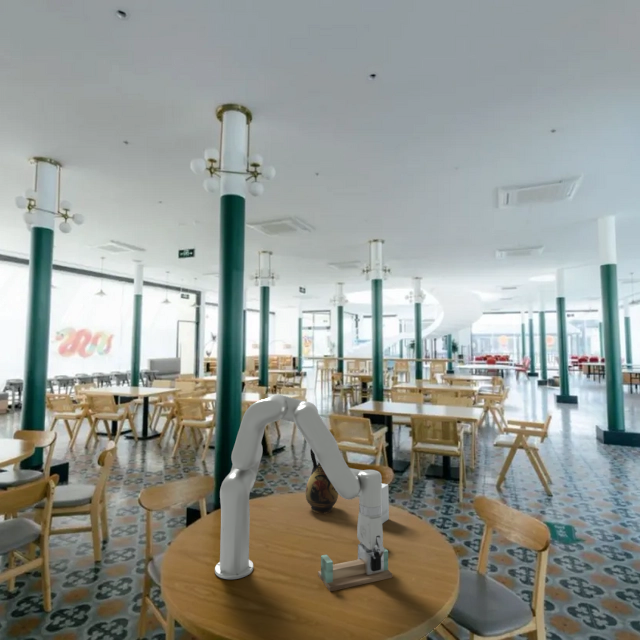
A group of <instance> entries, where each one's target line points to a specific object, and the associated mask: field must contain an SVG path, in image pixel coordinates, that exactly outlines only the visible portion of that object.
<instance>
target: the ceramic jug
mask: <svg viewBox="0 0 640 640" xmlns="http://www.w3.org/2000/svg"><path fill="white" fill-rule="evenodd" d="M309 451H310V458H311V462H312V470H311V474H310V476H309V478H308V481H307V483H306V485H305V500H306V502H307V503H308V504H309V506H310V510H311V511H312V512H313V513H315V514H316V513H317V514H320V515H321V514H329V513H331V512H332V508H333V506H335V504H336V503H337V502H338V499H339V494H338V492H337V491H336V489H335V488H334V486H333V485H332V483H331V482H330V480H329V479H328V477H327V475H326V474H325V472H324V470H323V468H322V466H321V465H320V463H319V462H318V463H317V458H316V456H315V454H314V452H313V451H312V449H311V448H310V450H309Z"/></svg>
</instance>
